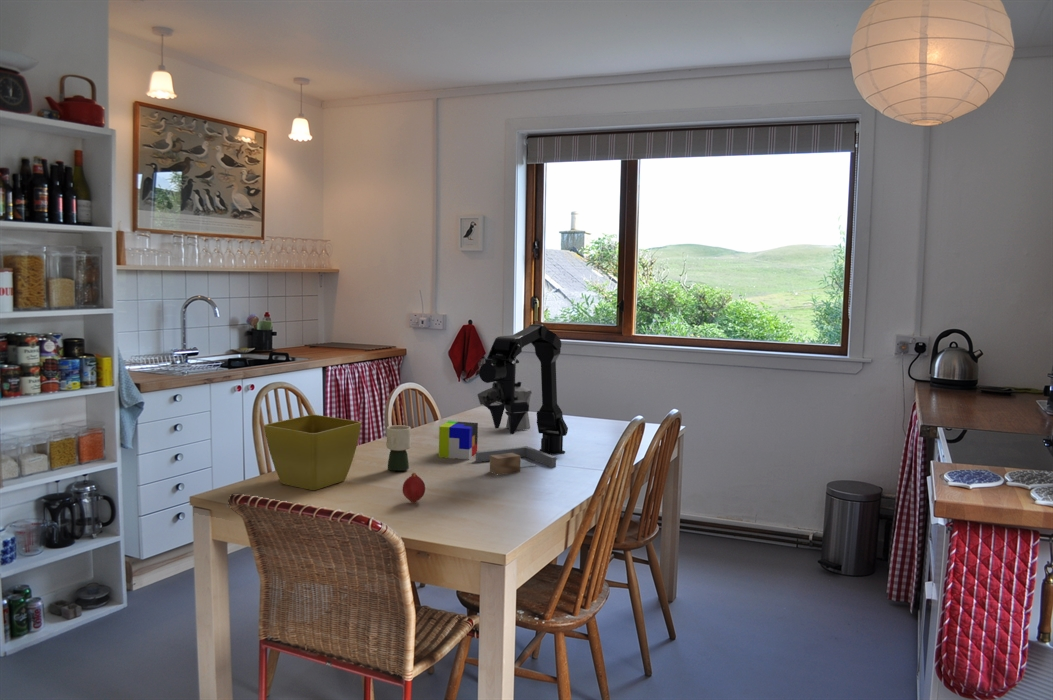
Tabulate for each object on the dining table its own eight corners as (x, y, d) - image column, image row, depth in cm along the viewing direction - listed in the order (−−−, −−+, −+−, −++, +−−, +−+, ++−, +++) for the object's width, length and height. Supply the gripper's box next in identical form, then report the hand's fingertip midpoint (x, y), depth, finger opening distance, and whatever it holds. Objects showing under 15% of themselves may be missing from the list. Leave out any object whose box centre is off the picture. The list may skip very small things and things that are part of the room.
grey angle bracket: (526, 455, 256) (527, 446, 256) (555, 466, 242) (556, 457, 241) (475, 461, 246) (475, 451, 246) (502, 473, 232) (502, 463, 231)
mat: (519, 458, 250) (519, 458, 250) (536, 465, 242) (536, 465, 242) (500, 461, 247) (500, 460, 247) (516, 468, 238) (516, 467, 238)
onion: (403, 499, 203) (403, 469, 202) (425, 499, 204) (426, 469, 203) (401, 506, 197) (401, 475, 196) (424, 506, 198) (425, 475, 197)
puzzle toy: (468, 459, 248) (469, 428, 247) (438, 457, 250) (439, 426, 249) (477, 452, 258) (477, 422, 257) (448, 450, 260) (448, 421, 259)
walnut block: (512, 468, 238) (512, 452, 238) (520, 472, 235) (520, 455, 234) (489, 471, 234) (490, 455, 233) (497, 475, 230) (497, 458, 230)
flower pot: (313, 496, 204) (313, 433, 202) (262, 484, 213) (261, 424, 211) (362, 480, 220) (363, 421, 219) (312, 470, 230) (312, 414, 228)
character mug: (393, 465, 238) (394, 423, 237) (415, 467, 237) (416, 424, 235) (379, 473, 228) (380, 430, 226) (402, 475, 226) (403, 431, 225)
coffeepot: (538, 429, 298) (540, 382, 296) (521, 432, 291) (522, 384, 290) (511, 423, 309) (512, 378, 307) (493, 426, 302) (494, 379, 301)
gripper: (467, 376, 236) (466, 427, 237) (497, 384, 220) (495, 439, 221) (499, 375, 241) (498, 424, 243) (530, 383, 226) (529, 436, 227)
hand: (504, 431), depth 233 cm, fingers open, 9 cm apart
